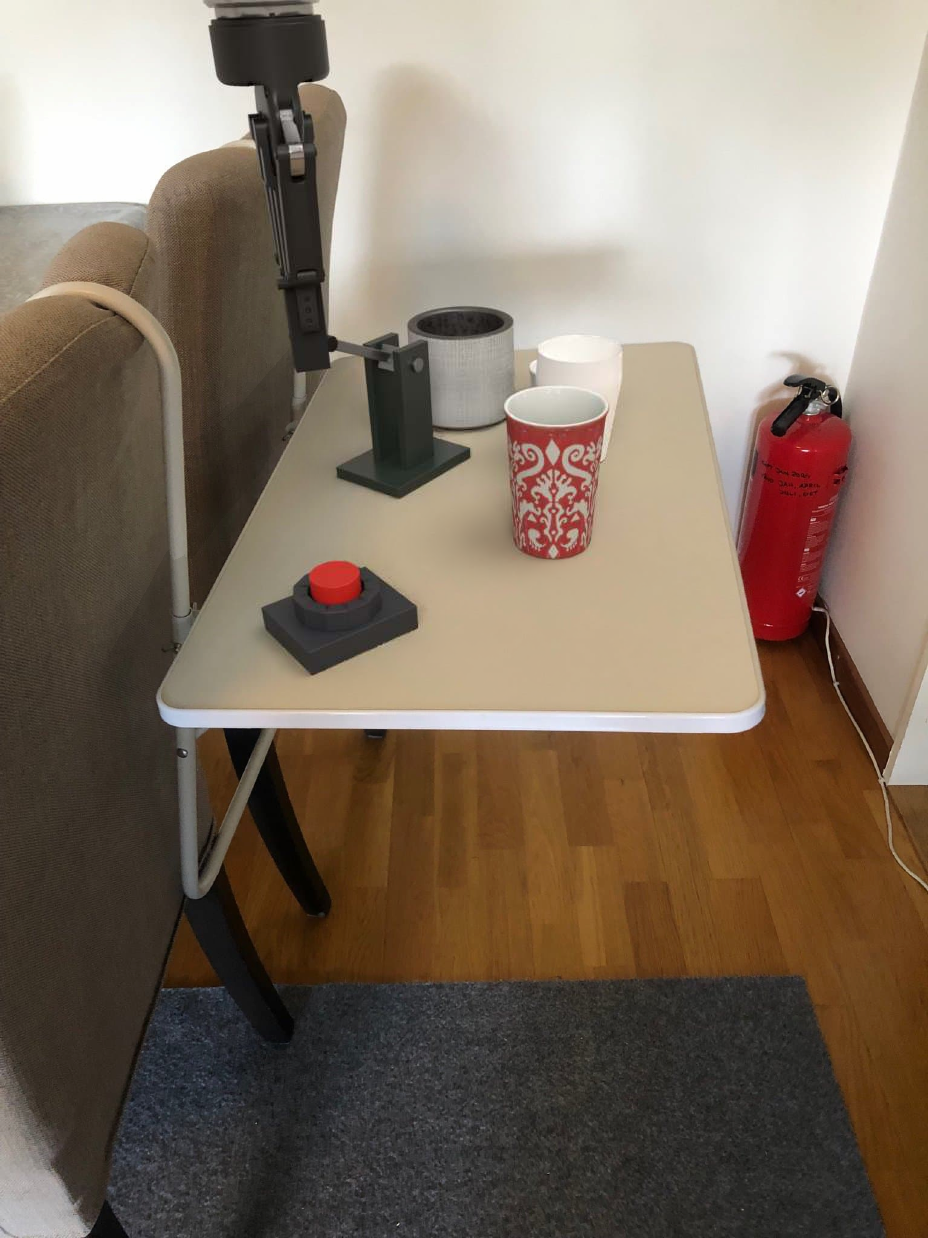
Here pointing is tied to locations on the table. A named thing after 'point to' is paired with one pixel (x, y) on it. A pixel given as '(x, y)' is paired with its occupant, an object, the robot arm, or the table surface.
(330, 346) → the switch lever
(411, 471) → the lever bracket
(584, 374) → the cup
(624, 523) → the table surface
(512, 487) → the mug
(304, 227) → the robot arm
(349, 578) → the button
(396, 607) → the switch block
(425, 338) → the planter
